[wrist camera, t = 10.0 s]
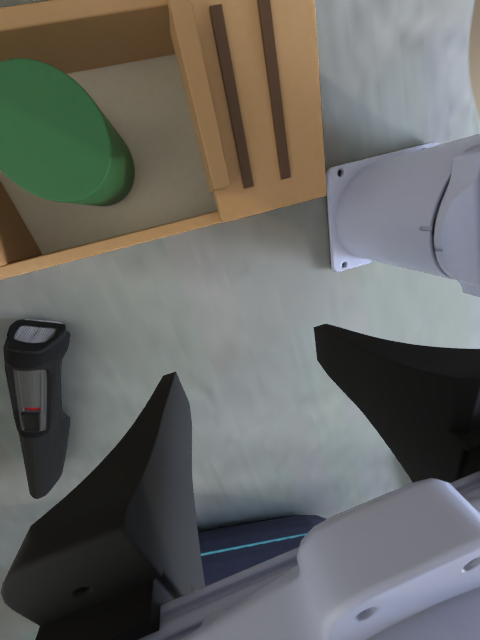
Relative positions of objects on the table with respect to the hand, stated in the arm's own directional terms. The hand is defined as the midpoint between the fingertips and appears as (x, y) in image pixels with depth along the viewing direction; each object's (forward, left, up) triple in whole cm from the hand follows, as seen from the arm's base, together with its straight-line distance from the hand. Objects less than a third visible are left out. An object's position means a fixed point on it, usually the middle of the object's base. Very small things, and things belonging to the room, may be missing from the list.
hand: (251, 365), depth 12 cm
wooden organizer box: (+2, -11, -9) cm, 15 cm away
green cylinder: (+5, -11, -8) cm, 14 cm away
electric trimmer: (+16, +4, -10) cm, 19 cm away
